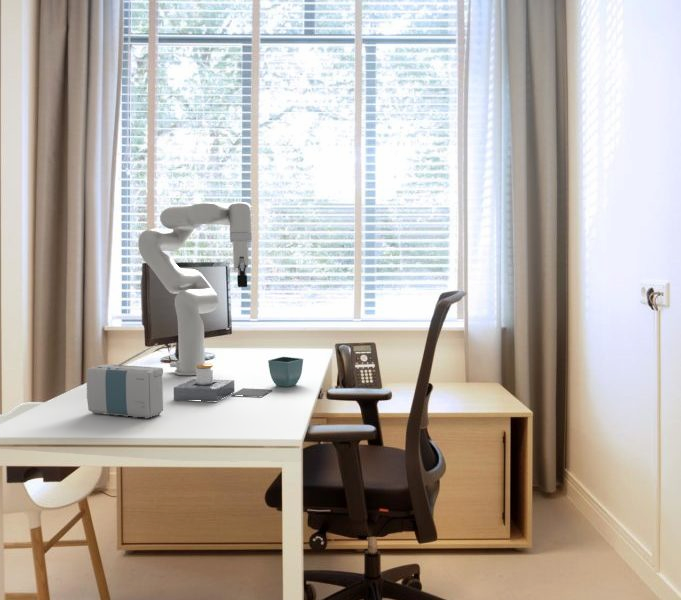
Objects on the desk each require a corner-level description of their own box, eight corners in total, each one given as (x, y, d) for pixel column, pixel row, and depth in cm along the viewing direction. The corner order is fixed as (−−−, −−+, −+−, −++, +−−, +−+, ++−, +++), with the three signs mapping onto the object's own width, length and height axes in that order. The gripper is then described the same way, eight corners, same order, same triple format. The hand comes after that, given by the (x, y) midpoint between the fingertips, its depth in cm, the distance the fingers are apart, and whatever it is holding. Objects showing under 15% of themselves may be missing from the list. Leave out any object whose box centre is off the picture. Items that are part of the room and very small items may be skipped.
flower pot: (288, 389, 206) (288, 362, 205) (267, 386, 210) (267, 360, 210) (304, 384, 213) (303, 358, 212) (283, 382, 218) (283, 356, 217)
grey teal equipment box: (86, 414, 173) (83, 343, 172) (107, 408, 181) (105, 339, 180) (148, 421, 166) (146, 346, 165) (167, 414, 174) (165, 342, 172)
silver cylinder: (194, 397, 194) (193, 366, 193) (201, 394, 198) (200, 363, 198) (209, 398, 192) (208, 366, 192) (215, 395, 197) (215, 363, 197)
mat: (231, 396, 196) (231, 394, 196) (243, 389, 205) (243, 388, 205) (261, 397, 194) (261, 396, 194) (272, 390, 203) (272, 389, 203)
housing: (173, 400, 190) (173, 387, 190) (194, 390, 204) (193, 378, 203) (216, 402, 187) (216, 389, 187) (234, 392, 201) (234, 380, 200)
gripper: (230, 239, 228) (231, 286, 229) (230, 237, 211) (231, 287, 212) (250, 238, 229) (252, 285, 230) (252, 236, 212) (253, 287, 213)
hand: (242, 286), depth 221 cm, fingers open, 9 cm apart
